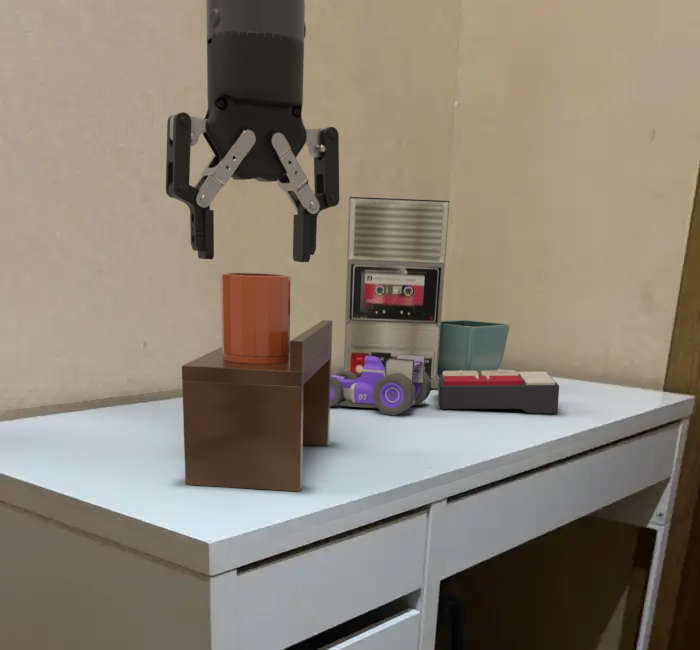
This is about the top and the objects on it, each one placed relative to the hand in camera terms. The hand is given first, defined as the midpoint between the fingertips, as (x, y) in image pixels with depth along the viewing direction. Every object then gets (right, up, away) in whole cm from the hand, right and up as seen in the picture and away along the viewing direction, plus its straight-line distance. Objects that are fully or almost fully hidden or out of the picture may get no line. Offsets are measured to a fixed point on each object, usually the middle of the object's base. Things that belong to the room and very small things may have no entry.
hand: (254, 260), depth 79 cm
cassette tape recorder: (+14, +4, +59) cm, 61 cm away
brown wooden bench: (0, -15, +11) cm, 19 cm away
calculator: (+27, -2, +46) cm, 54 cm away
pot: (0, -7, +3) cm, 8 cm away
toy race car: (+10, -3, +42) cm, 43 cm away
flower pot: (+25, +5, +62) cm, 67 cm away
